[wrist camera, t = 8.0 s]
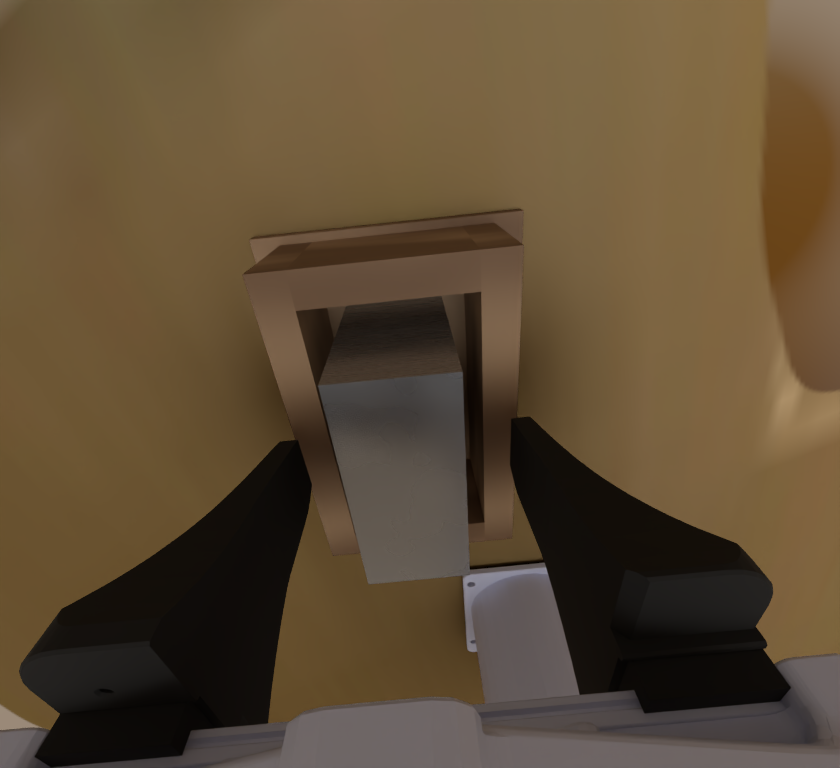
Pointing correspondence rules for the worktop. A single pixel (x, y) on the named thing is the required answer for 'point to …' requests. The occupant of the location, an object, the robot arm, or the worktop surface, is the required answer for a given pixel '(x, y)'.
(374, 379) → the silver metal block
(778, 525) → the worktop surface
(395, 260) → the brown rectangular frame
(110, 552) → the worktop surface
